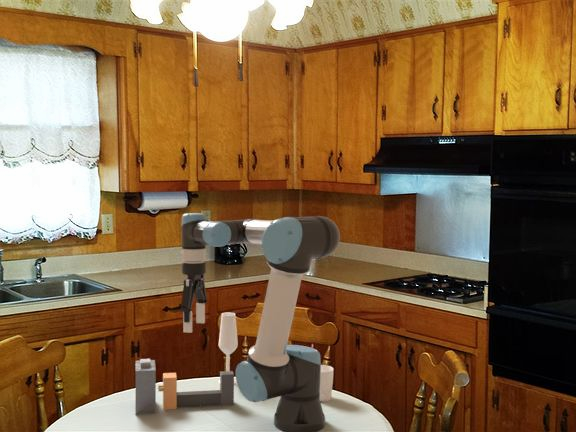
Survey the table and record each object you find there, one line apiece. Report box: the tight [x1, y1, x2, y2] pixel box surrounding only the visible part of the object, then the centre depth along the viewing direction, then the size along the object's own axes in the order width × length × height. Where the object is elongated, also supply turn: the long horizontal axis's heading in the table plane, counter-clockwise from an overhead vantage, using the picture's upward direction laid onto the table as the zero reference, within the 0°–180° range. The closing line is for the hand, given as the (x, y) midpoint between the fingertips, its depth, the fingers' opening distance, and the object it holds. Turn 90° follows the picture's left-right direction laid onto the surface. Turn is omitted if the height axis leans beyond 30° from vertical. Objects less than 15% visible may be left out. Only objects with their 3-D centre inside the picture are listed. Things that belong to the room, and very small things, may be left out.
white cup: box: [320, 364, 335, 402], centre depth 237 cm, size 8×8×10 cm
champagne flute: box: [217, 312, 239, 385], centre depth 252 cm, size 7×7×24 cm
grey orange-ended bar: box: [158, 370, 235, 411], centre depth 229 cm, size 24×5×10 cm, turn 102°
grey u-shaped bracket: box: [135, 358, 157, 415], centre depth 225 cm, size 6×11×15 cm, turn 12°
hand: (194, 327), depth 232 cm, fingers open, 13 cm apart
